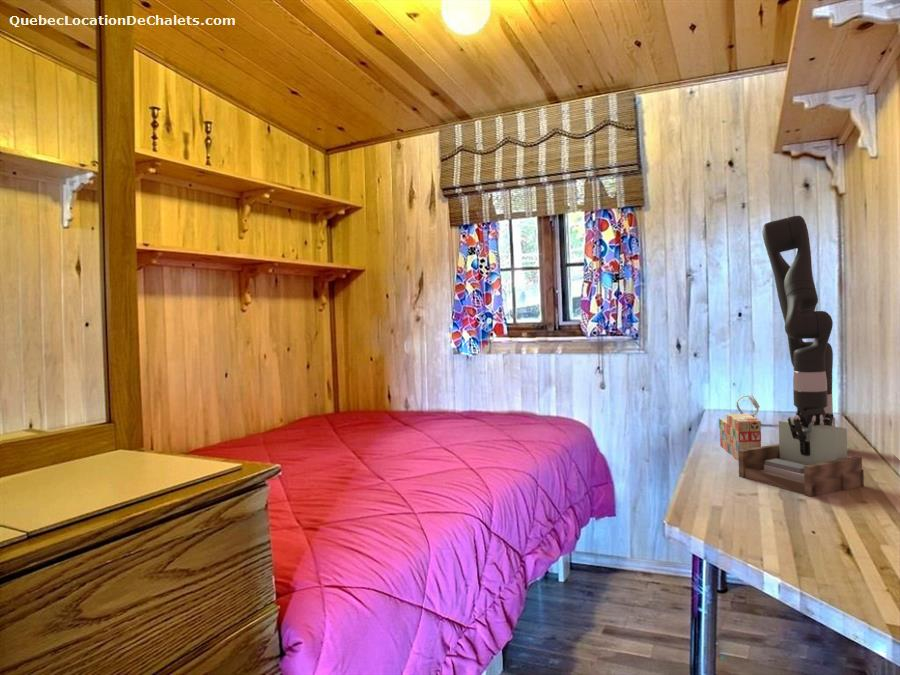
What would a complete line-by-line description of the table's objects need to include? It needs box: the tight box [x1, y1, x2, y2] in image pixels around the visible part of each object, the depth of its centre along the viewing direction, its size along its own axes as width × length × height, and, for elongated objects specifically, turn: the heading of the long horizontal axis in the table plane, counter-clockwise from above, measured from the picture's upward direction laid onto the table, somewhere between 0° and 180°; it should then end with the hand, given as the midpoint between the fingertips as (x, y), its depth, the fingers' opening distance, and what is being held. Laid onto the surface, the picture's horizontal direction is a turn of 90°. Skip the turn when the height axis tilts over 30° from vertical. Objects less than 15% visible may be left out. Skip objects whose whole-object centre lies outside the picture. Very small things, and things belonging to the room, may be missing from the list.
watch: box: [735, 394, 760, 417], centre depth 229 cm, size 6×8×11 cm
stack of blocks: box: [718, 413, 762, 462], centre depth 184 cm, size 21×6×12 cm, turn 170°
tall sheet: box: [778, 419, 848, 465], centre depth 155 cm, size 4×16×14 cm, turn 21°
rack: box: [738, 443, 865, 497], centre depth 153 cm, size 18×21×7 cm
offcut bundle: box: [762, 459, 806, 482], centre depth 152 cm, size 5×15×5 cm, turn 20°
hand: (811, 453), depth 155 cm, fingers closed on tall sheet, 4 cm apart
